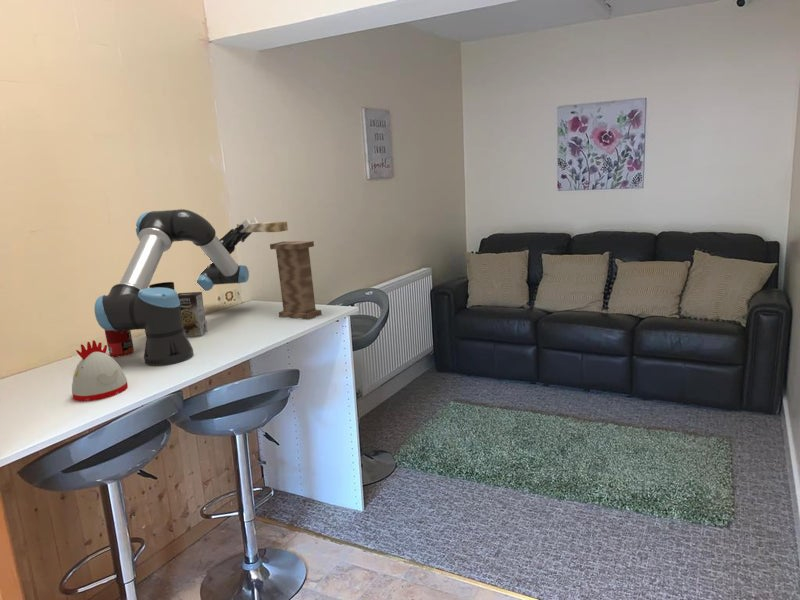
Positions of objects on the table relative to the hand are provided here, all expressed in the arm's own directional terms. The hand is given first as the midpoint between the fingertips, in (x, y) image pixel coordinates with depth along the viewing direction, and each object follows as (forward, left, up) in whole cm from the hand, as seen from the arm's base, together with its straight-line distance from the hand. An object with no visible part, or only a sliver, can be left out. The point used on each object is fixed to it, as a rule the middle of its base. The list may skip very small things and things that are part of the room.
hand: (252, 221), depth 241 cm
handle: (+4, -2, -4) cm, 6 cm away
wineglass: (-27, -31, -39) cm, 57 cm away
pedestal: (+18, -9, -39) cm, 44 cm away
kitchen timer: (-16, -90, -40) cm, 99 cm away
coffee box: (-17, -32, -39) cm, 53 cm away
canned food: (-33, -53, -39) cm, 73 cm away
